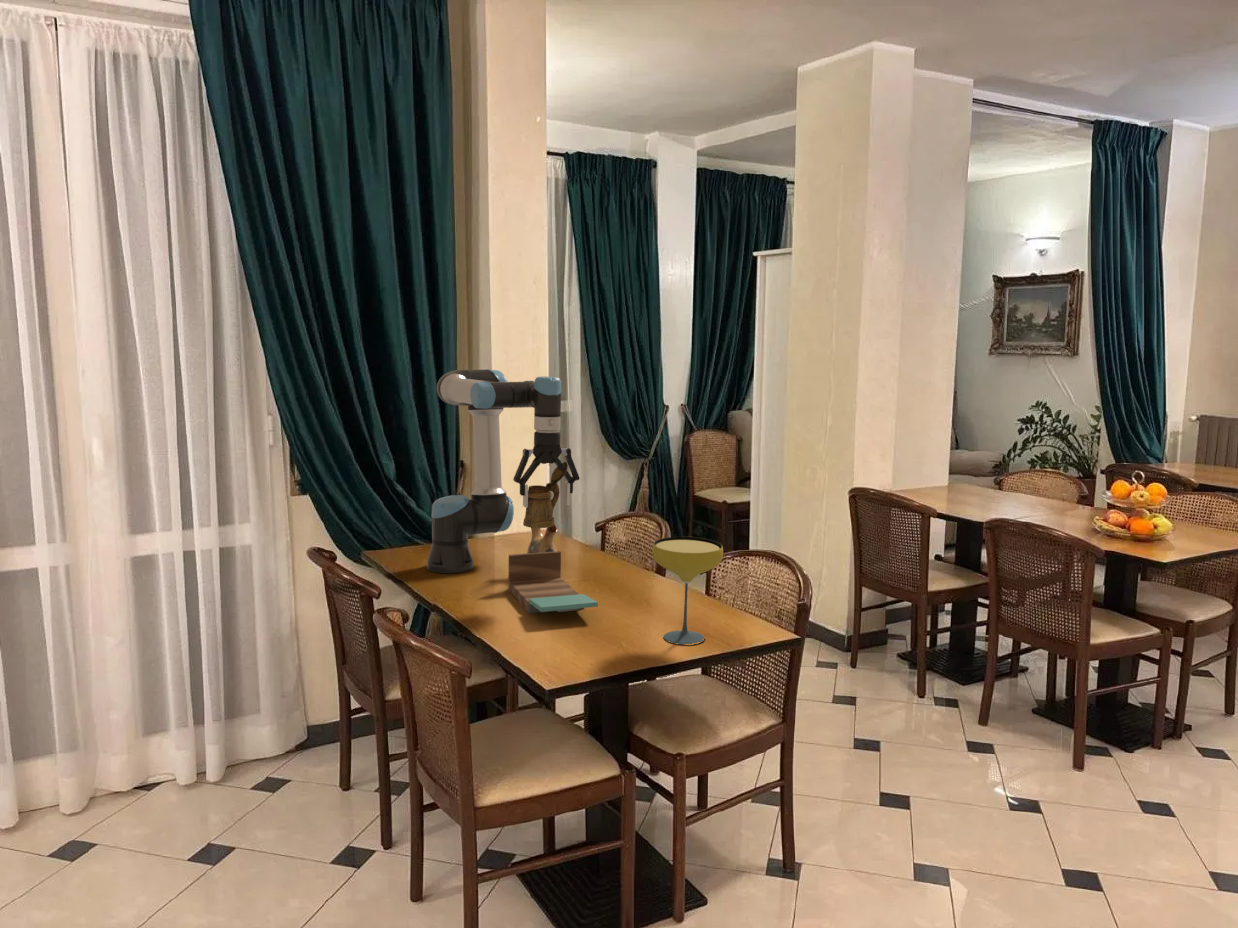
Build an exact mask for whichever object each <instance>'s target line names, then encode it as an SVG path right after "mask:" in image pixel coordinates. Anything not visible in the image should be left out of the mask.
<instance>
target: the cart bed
mask: <svg viewBox="0 0 1238 928" xmlns="http://www.w3.org/2000/svg"><path fill="white" fill-rule="evenodd" d="M561 565H562V552H561V551H560V550H557V551H555V552H540V553H527V552H526V553H514V554H508V591H509V592H510V594H511V593H512V594H513V595H514V596H515V597H514V596H513V595H512V594H511V595H512V596H513V597H514V598H515V599H516V600H517V602H520V605H521V606H522V607H523V609H525V611H526V612H528V614H529V615H531V614H539V613H540V614H541V613H543V612H541V611H539V610H538V609H537V608H535V607H534V606H533V605H531V604H530V603H529V599H532V598H543V597H555V596H566V595H578V594H579V592H577V591H576V590H575V589H574V588H573V587H572V586H571V585H570V584H568V582H566V581H565V580H563V578H562V577H561V569H562V567H561ZM584 609H585V608H579V610H584ZM551 612H554V611H545V612H544V613H551Z"/></svg>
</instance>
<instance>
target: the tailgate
mask: <svg viewBox="0 0 1238 928" xmlns="http://www.w3.org/2000/svg"><path fill="white" fill-rule="evenodd" d="M529 603H530V604H531V605H533V606H534V607H535V608H537V609H538V610H539V611H541V612H542V613H546V612H545V611H553V612H557V613H561V612H571V611H572V612H573V611H574V612H575V611H579V610H580V609H579V608H584V609H585V608H586V609H587V608H597V607H598V606H599V602H598V601H597V600H594V599H593V598H592V597H590V596H588V595H586V594H584V593H578V595H566V596H555V597H543V598H532V599H529Z"/></svg>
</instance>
